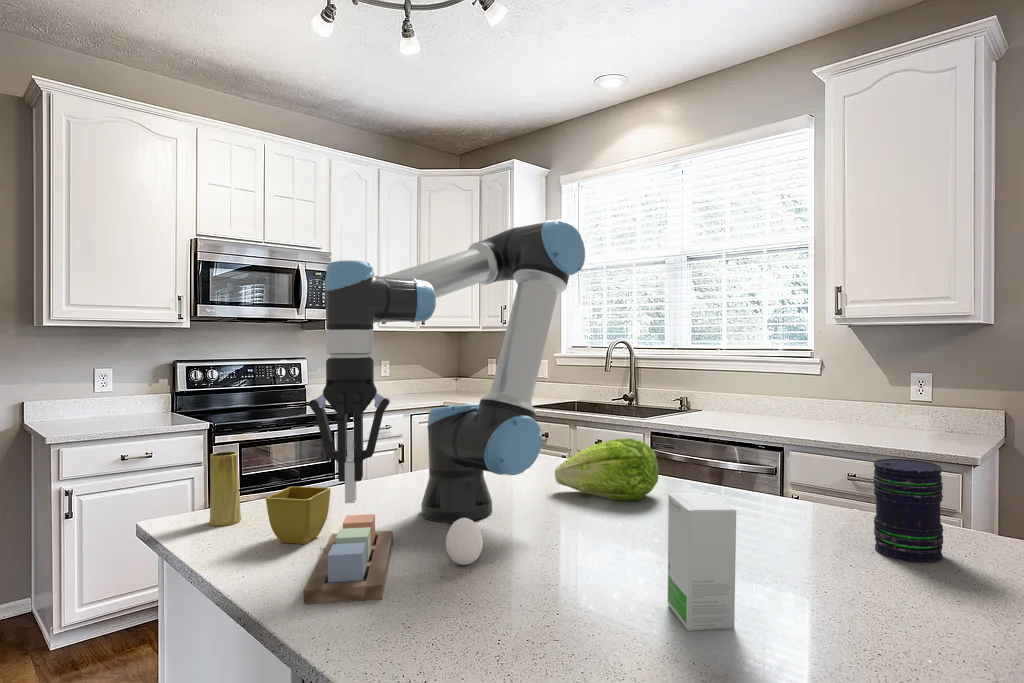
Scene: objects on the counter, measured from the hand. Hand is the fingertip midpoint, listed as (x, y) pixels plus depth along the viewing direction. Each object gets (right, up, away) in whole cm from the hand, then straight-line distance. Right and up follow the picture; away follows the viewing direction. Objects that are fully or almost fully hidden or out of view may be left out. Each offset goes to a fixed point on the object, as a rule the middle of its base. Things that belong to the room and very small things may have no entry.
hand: (350, 500), depth 103 cm
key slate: (+1, -9, -8) cm, 12 cm away
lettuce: (+48, -10, +45) cm, 67 cm away
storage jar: (+93, -10, +3) cm, 93 cm away
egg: (+18, -11, +2) cm, 22 cm away
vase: (-33, -12, +28) cm, 45 cm away
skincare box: (+51, -11, -19) cm, 56 cm away
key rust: (-1, -9, +8) cm, 12 cm away
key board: (0, -11, 0) cm, 11 cm away
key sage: (0, -9, 0) cm, 9 cm away
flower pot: (-14, -12, +16) cm, 24 cm away
